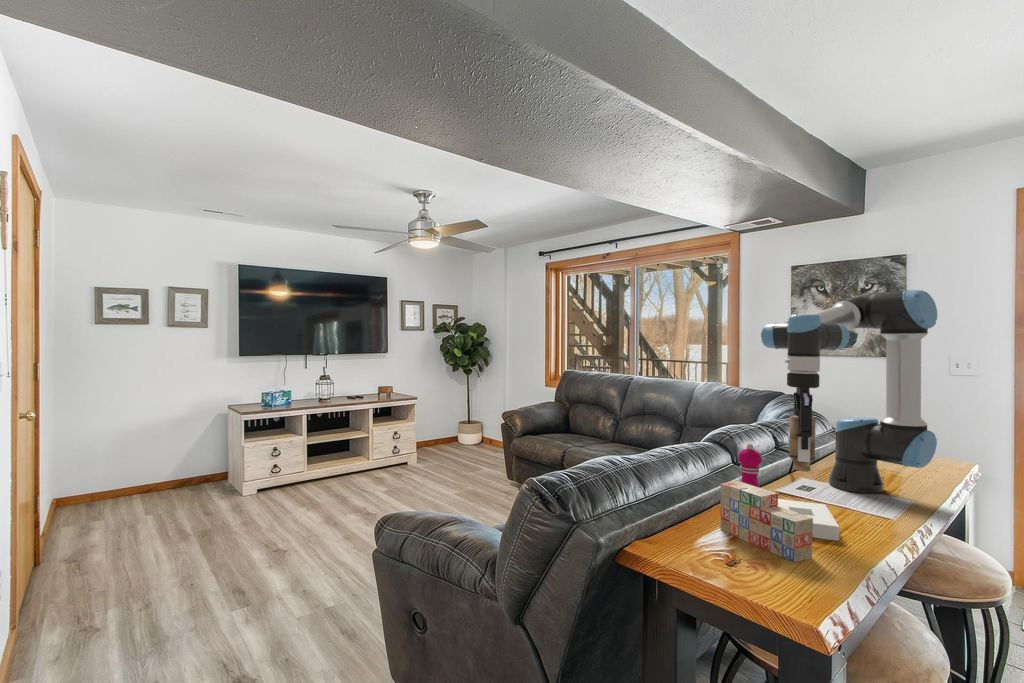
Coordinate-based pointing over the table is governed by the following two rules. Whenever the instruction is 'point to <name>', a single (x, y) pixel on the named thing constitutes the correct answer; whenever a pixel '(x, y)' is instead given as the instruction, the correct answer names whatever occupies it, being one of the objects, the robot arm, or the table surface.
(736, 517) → the stack of blocks
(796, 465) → the walnut peg
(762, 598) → the table surface
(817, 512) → the cream board
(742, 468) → the pepper mill
